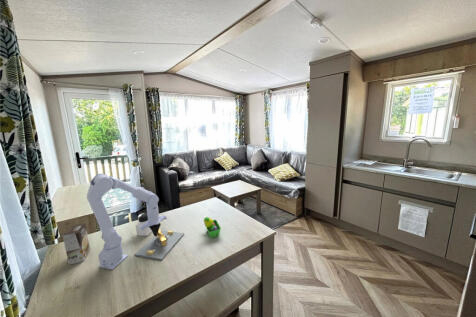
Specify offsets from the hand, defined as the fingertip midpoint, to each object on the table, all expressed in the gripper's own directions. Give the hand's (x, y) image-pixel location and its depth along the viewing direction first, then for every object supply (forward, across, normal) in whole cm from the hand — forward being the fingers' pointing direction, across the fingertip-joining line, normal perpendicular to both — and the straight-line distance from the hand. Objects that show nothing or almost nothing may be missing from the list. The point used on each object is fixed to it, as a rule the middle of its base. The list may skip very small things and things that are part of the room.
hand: (155, 235), depth 109 cm
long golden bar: (+1, 0, -5) cm, 6 cm away
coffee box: (+4, -30, +20) cm, 36 cm away
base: (+3, 0, -5) cm, 6 cm away
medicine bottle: (+4, +1, +13) cm, 14 cm away
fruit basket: (+4, +24, -21) cm, 32 cm away
